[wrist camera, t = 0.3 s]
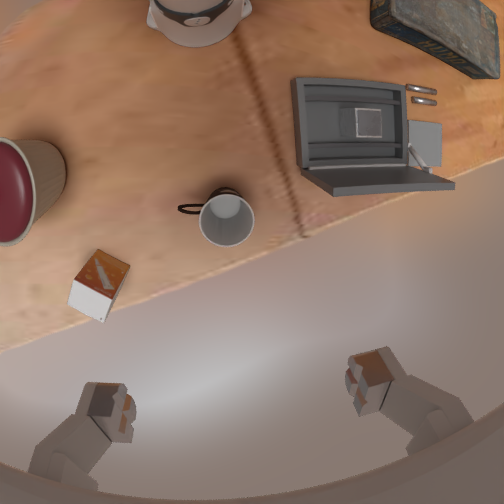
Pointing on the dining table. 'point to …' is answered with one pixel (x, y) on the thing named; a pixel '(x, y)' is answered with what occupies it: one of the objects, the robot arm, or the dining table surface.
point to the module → (360, 122)
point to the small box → (98, 285)
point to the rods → (422, 90)
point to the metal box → (445, 31)
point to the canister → (27, 185)
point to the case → (356, 139)
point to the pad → (425, 142)
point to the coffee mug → (224, 218)
